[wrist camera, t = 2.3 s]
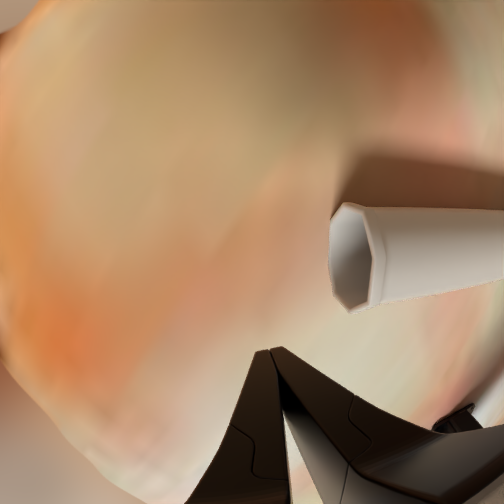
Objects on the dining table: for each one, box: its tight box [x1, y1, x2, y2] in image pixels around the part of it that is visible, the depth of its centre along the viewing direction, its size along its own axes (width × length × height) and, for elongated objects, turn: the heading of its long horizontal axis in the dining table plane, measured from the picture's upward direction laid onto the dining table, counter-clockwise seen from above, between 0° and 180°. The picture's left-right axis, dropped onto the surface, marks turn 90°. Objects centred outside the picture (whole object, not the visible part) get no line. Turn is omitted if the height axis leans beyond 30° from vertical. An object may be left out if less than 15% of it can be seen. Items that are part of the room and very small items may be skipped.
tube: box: [328, 202, 504, 314], centre depth 16 cm, size 5×5×25 cm
